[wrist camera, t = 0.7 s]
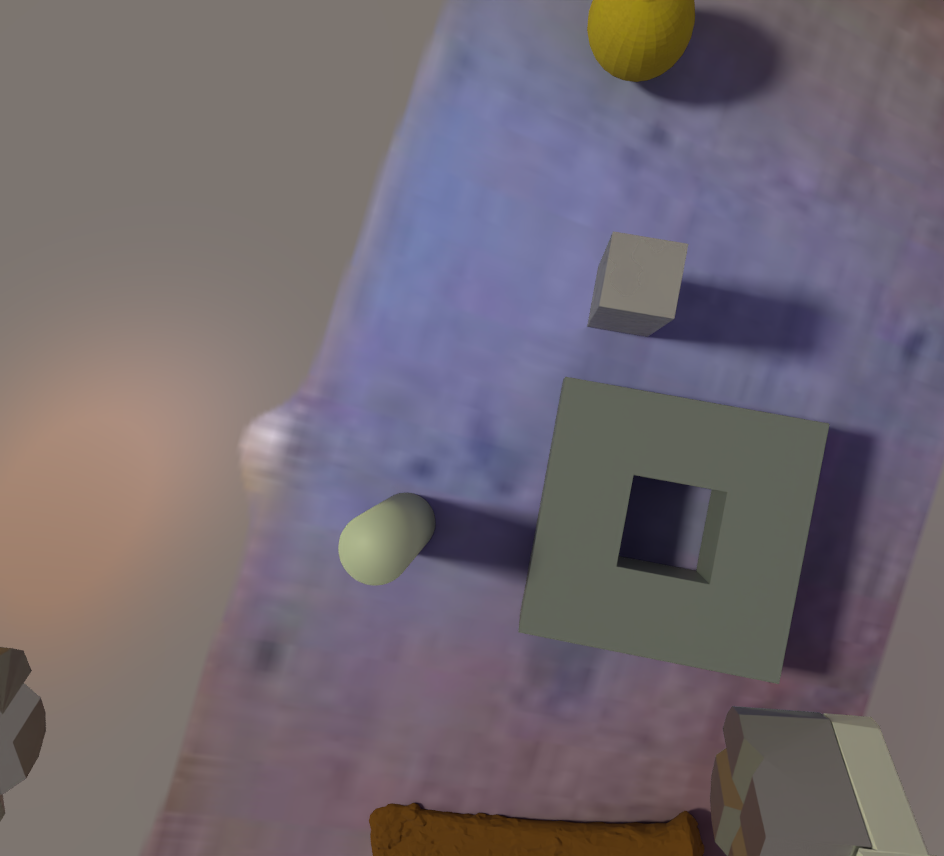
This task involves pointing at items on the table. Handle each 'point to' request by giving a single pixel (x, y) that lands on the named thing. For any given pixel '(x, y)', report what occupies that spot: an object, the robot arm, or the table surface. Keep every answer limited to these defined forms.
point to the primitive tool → (523, 835)
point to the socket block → (724, 539)
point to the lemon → (639, 35)
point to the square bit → (637, 284)
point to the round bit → (386, 538)
